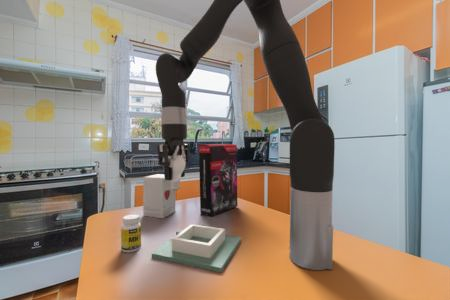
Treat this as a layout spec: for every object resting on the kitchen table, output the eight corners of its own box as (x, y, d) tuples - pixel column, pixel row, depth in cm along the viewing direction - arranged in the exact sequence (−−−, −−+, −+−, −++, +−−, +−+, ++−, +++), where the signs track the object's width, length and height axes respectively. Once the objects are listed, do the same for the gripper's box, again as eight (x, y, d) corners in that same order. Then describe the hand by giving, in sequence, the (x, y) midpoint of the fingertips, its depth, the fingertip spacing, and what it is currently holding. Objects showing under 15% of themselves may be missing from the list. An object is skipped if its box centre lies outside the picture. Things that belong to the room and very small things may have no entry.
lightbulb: (181, 192, 64) (180, 154, 63) (160, 192, 65) (160, 154, 65) (189, 188, 70) (188, 153, 69) (170, 187, 71) (169, 153, 71)
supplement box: (163, 219, 80) (162, 178, 79) (142, 216, 83) (142, 176, 82) (176, 211, 88) (176, 174, 88) (157, 209, 91) (157, 173, 91)
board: (241, 241, 62) (241, 227, 62) (221, 272, 47) (221, 254, 47) (185, 232, 68) (185, 219, 68) (151, 257, 53) (151, 241, 53)
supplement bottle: (128, 254, 54) (128, 221, 54) (117, 249, 57) (117, 217, 57) (144, 247, 59) (144, 215, 58) (133, 242, 61) (133, 212, 61)
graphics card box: (211, 217, 81) (211, 144, 80) (198, 213, 86) (198, 144, 85) (237, 207, 95) (238, 144, 94) (225, 204, 99) (225, 143, 98)
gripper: (171, 120, 59) (172, 183, 59) (196, 124, 72) (197, 175, 73) (148, 122, 61) (149, 181, 62) (176, 125, 75) (177, 174, 75)
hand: (175, 178), depth 67 cm, fingers closed on lightbulb, 6 cm apart
